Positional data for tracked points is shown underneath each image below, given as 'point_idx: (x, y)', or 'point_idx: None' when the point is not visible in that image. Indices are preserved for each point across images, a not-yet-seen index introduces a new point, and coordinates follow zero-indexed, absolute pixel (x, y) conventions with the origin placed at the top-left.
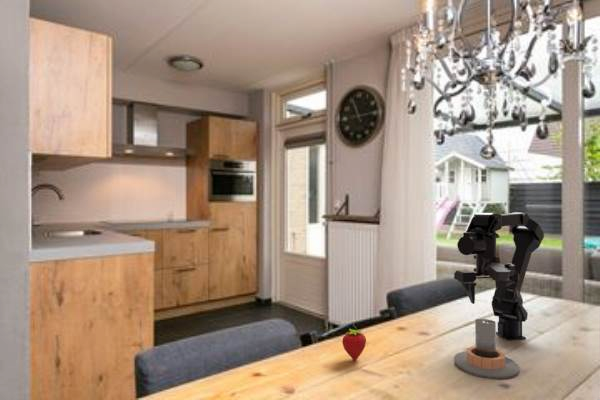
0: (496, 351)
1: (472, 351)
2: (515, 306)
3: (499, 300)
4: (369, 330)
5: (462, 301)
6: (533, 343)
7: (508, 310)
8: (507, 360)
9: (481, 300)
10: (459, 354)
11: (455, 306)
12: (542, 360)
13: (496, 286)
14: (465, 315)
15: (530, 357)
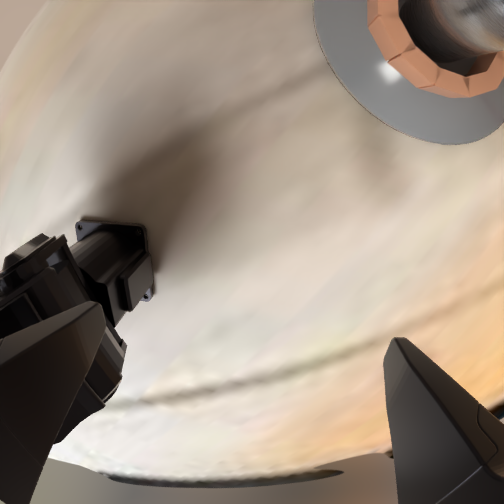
0: (397, 6)
1: (473, 74)
2: (23, 273)
3: (94, 322)
4: (498, 393)
5: (124, 468)
6: (77, 178)
7: (70, 282)
8: (339, 1)
9: (83, 452)
10: (481, 126)
11: (155, 464)
12: (164, 13)
13: (44, 449)
14: (161, 431)
15: (186, 42)
